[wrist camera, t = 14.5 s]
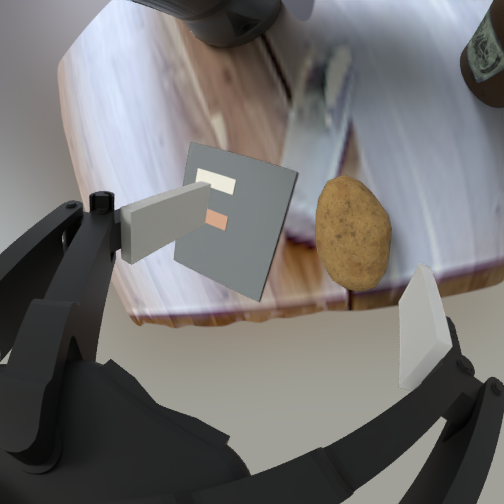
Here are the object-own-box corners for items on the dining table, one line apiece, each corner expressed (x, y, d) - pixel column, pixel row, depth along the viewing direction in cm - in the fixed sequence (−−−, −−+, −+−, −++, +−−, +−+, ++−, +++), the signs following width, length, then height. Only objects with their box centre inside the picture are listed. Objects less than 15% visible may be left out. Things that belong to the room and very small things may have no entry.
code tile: (191, 142, 41) (189, 142, 41) (297, 172, 36) (296, 172, 36) (174, 259, 51) (173, 259, 51) (259, 300, 46) (258, 302, 46)
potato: (379, 166, 31) (381, 169, 24) (395, 268, 35) (398, 295, 28) (309, 180, 36) (292, 187, 29) (330, 275, 39) (319, 303, 33)
